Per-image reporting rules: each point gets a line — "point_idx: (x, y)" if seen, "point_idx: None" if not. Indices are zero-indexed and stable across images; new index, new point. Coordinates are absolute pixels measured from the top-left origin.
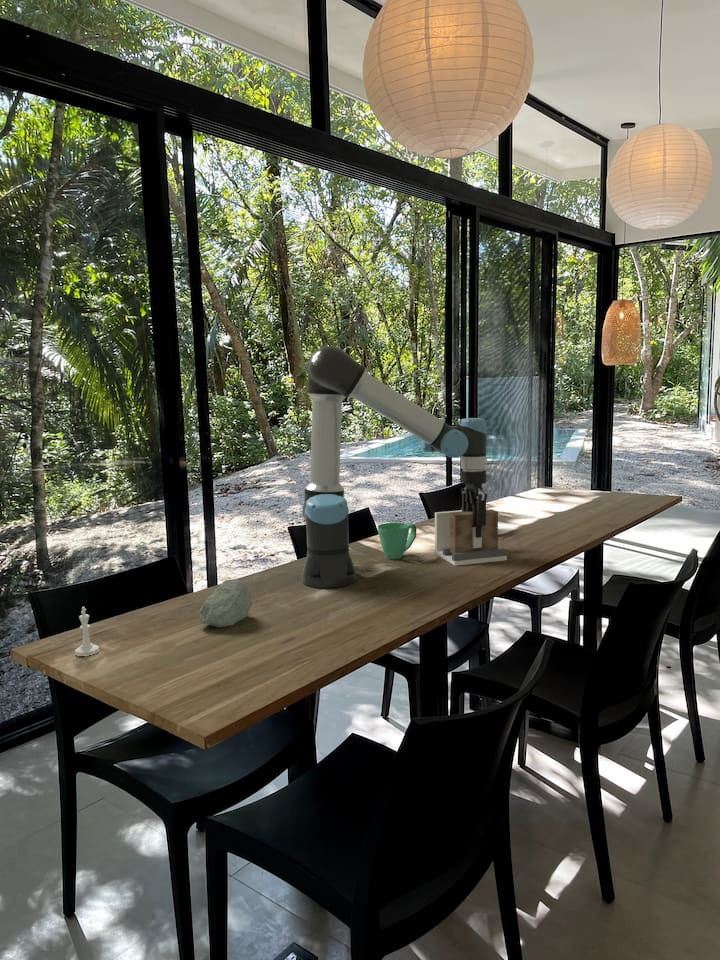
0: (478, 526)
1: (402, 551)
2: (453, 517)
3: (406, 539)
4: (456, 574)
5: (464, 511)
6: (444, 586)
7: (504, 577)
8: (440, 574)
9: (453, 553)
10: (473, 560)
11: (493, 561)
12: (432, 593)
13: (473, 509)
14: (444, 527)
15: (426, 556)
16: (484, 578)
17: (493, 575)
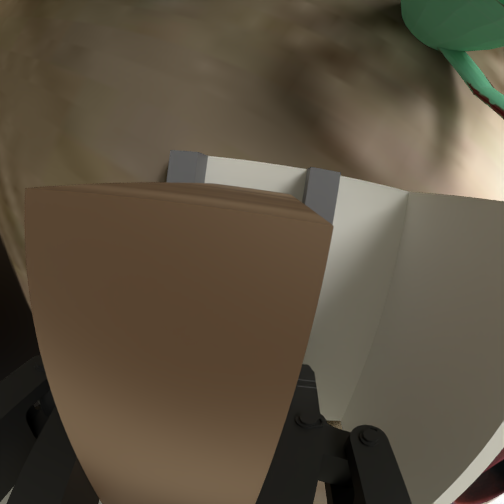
0: None
1: (411, 16)
2: (122, 189)
3: (433, 2)
4: (82, 110)
5: (360, 500)
6: (32, 48)
7: (15, 243)
8: (111, 57)
9: (193, 161)
10: None
11: None
12: (23, 18)
13: (34, 487)
14: (471, 268)
15: (397, 129)
16: (22, 181)
17: None
